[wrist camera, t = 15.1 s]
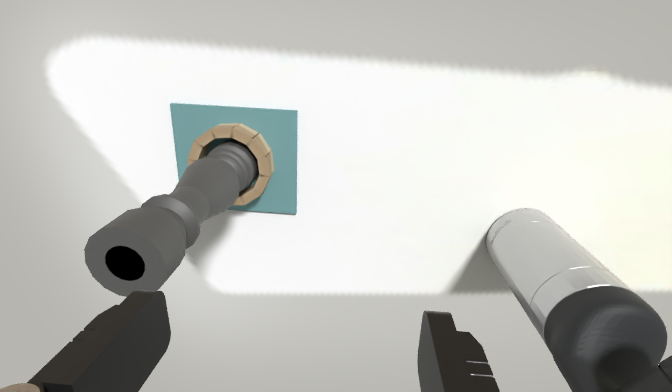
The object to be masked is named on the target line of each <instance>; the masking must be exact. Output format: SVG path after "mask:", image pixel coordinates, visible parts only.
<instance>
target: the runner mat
mask: <svg viewBox="0 0 672 392" xmlns="http://www.w3.org/2000/svg"><path fill="white" fill-rule="evenodd" d="M170 107H171V116H172V125H173V133H174V142H175V151H176V159H177V168H178V177H179V181H180V179H181V177H182V175H183V173H184V172H185V170H186V168H187V167H188V166H189V165H188V156H189V153H190V150H191V147H192V145H193V142H194V141H195V139H197V138H198V137H199V136H201V135H202V134H204V133H205V132H206V131H208V130H209V129H211V128H213V127H215V126H217V125H218V124H226V123H241V124H243V125H245V126H247V127H249V128H251V129H253V130H255V131H257V132H259V133H258V134H261V135H262V137H263V138H264V139H265V141H266V142H267V144H268V145H269V146H270V148H271V149H272V150H271V151H272V153H273V161H274V172H273V174H272V176H271V179H270V181H269V183H268V185H267V187H266V188H265V190H264V191H263V193H262V194H261V195H260V196H259V197H257V198H255V199H254V200H252V201H251V202H249V203H247V204H246V205H232V206H231V207H229V208H228V209H230V210H244V211H259V212H273V213H287V214H296V207H297V110H280V109H263V108H246V107H229V106H211V105H194V104H177V103H170ZM230 139H233V138H216V139H214V140H213V141H212V142H211V145H210V147H209V150H208V152H207V156H208V154H209V152H210V151H211V150H213V149H214V148H215V147H217V146H218V145H220V144H221V143H223V142H224V141H226V140H230ZM258 177H259V173H258V175H257V176H256V178H255V179H254V180H253V181H252V183H251V184H250V185H249V186H248V187H246V188H249V187H250V186H252V185H254V184H255V183H256V182H257V180H258Z"/></svg>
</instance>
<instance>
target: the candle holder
mask: <svg viewBox="0 0 672 392" xmlns="http://www.w3.org/2000/svg"><path fill="white" fill-rule="evenodd" d="M258 173H259V167H258V160H257V158H256V157H255V155H254V154H253V153H252V151H251V150H250V148H249V147H248V146H247V145H246V144H244V143H242V142H239V141H237V140H235V139H230V140H226V141H224V142H223V143H221V144H220V145H218V146H217V147H215V148H214V149H213V150H211V151H210V152H209V154H208V156H206V158H204V159H199V160H196V161H195V162H194V163H192V164H191V165H190V166H188V167H187V168H186V170H185V172H184V173H183V175H182V177H181V179H180V181H179V182H178V184H177V186H176V188H175V189H174V191H173V192H172V193H171V194H169V195H167V194H163V195H158V196H153V197H152V198H150V199H149V200H147V201H146V202H145V203H143V204H142V206H141V208H137V209H132V210H127V211H126V212H125V213H123V214H122V215H120V216H119V217H117V218H116V219H115V220H113V221H111V222H110V223H109V224H107V225H106V226H104V227H103V228H101V229H100V230H99V231H97V232H96V233H95V234H93V235H92V236H91V237H89V240H88V242H87V244H86V247H85V249H84V250H85V261H86V265H87V266H88V268H89V270H90V272H91V274H92V276H93V277H94V278H95V279H96V280H97V281H98V282H99V283H100V284H101V285H102V286H103V287H104V288H106V289H108V290H110V291H112V292H114V293H116V294H118V295H121V296H126V297H128V296H129V295H130V294H131V293H132V292H133V291H134V290H137V289H139V290H153V291H157V290H158V289H159V288H160V287H161V286H162V285H163V284H164V282H165V281H166V280H167V279H168V278H169V276H170V275H171V274H172V273H173V272H174V271H175V269H176V268H177V267H178V266H179V265H180V263H181V261H182V259H183V257H184V256H185V249H187V248H188V247H190V246H191V245H193V244H194V243H195V241H196V239H197V237H198V235H199V234H200V224H201V223H202V222H203V221H204V220H206V219H208V218H210V217H212V216H215V215H217V214H219V213H221V212H223V211H225V210H226V209H228V208H229V207H231V206H232V205H233V204H234V202H235V201H236V199H237V197H238V195H239V192H240V191H242V190H244V189H245V188H246V187H248V186H249V185H250V184H251V183H252V181H253V180H254V179H255V178H256V176H257V175H258Z"/></svg>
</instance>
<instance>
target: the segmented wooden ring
mask: <svg viewBox="0 0 672 392" xmlns="http://www.w3.org/2000/svg"><path fill="white" fill-rule="evenodd" d="M258 133H259V132H257V131H255V130H253V129H251V128H249V127H247V126H245V125H243V124H241V123H226V124H218V125H217V126H215V127H213V128H211V129H209V130H208V131H206V132H205V133H204V134H202V135H201V136H199V137H198V138H197V139H195V141H194V142H193V145H192V147H191V150H190V153H189V156H188V165H189V166H190V165H191V164H192V163H194V162H195V161H196V160H199V159H204V158H206V156H207V152H208V150H209V147H210V145H211V142H212V141H213V140H214V139H216V138H233V139H235V140H237V141H239V142H242V143H244V144H246V145H247V146H248V147H249V148H250V150H251V151H252V153H253V154H254V155H255V157H256V158H257V160H258V167H259V177H258V180H257V182H256V183H255V184H254V185H252V186H250V187H249V188H245V189H244V190H242V191H240V192H239V195H238V197H237V199H236V201H235V202H234V204H233V205H246V204H247V203H249V202H251V201H252V200H254V199H255V198H257V197H259V196H260V195H261V194H262V193H263V191H264V190H265V188H266V187H267V185H268V183H269V181H270V179H271V176H272V174H273V172H274V161H273V153H272V151H271V150H272V149H271V148H270V146H269V145H268V144H267V142H266V141H265V139H264V138H263V137H262V135H261V134H258Z"/></svg>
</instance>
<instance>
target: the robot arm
mask: <svg viewBox="0 0 672 392" xmlns="http://www.w3.org/2000/svg"><path fill="white" fill-rule="evenodd" d="M486 245H487V250H488V253H489V255H490V257H491V258H492V260H493V261H494V263H495V264H496V266H497V268H498V269H499V271H500V273H501V274H502V276H503V277H504V279H505V281H506V282H507V284H508V285H509V287H510V288H511V290H512V292H513V293H514V295H515V296H516V298H517V299H518V301H519V303H520V304H521V306H522V307H523V309H524V311H525V312H526V314H527V315H528V317H529V319H530V320H531V322H532V323H533V325H534V326H535V328H536V329H537V331H538V333H539V334H540V335H541V337H542V339H543V340H544V342H545V344H546V345H547V347H548V348H549V350H550V352H551V353H552V355H553V358H554V361H555V362H556V364H557V366H558V368H559V370H560V371H561V373H562V375H563V376H564V378H565V379H566V381H567V383H568V385H569V387H570V388H571V390H572V392H672V356H670V357H668V358H667V359H665V360H663V361H662V362H660V360H661V358H662V356H663V354H664V352H665V349H666V345H667V332H666V327H665V325H664V323H663V321H662V319H661V318H660V316H659V315H658V313H656V311H654V309H653V308H652V307H651V306H650V305H649V304H647V303H646V302H645V301H644V300H643V299H641V298H640V297H639V296H638V295H637V294H636V293H635V292H634V291H633V290H631V289H630V288H629V287H628V286H627V285H626V284H625V283H624V282H622V281H621V280H620V279H619V278H618V277H617V276H615V275H614V274H613V273H612V272H611V271H610V270H609V269H607V268H606V267H605V266H604V265H603V264H602V263H601V262H600V261H598V260H597V259H596V258H595V257H594V256H593V255H592V254H590V253H589V252H588V251H587V250H586V249H585V248H584V247H583V246H581V245H580V244H579V243H578V242H577V241H576V240H575V239H574V238H572V237H571V236H570V235H569V234H568V233H567V232H566V231H565V230H564V229H562V228H561V227H560V226H559V225H558V224H557V223H556V222H554V221H553V220H552V219H551V218H550V217H549V216H547V215H546V214H545V213H543V212H541V211H538V210H535V209H518V210H514V211H511V212H509V213H507V214H505V215H503V216H502V217H500V218H499V219H498V220H497V221H496V222H495V223H494V224H493V225H492V227H491V228H490V230H489V232H488V235H487V240H486ZM170 336H171V330H170V324H169V318H168V312H167V306H166V300H165V295H164V293H163V292H162V291H153V290H139V289H137V290H134V291H133V292H132V293H131V294H130V295H129V296H128V297H127V298H126V299H125V300H124V301H123V302H122V303H121V304H120V305H114V306H113V307H111V308H109V309H108V310H106V311H104V312H103V313H101V314H99V315H98V316H97V317H95V318H94V319H93V320H92V321H91V322H90V323H89V324H88V325H87V326H86V327H85V328H84V331H81V332H80V333H79V334H78V335H77V336H76V337H75V338H73V341H72V342H69V343H68V344H67V345H66V346H65V347H64V348H63V349H62V350H61V351H60V352H59V353H58V354H57V355H56V356H55V357H53V358H52V359H51V360H50V361H49V362H48V363H47V364H46V365H45V366H44V367H43V368H42V369H41V370H40V371H39V372H38V373H37V374H36V375H35V376H34V377H33V378H32V379H30V380H29V381H28V382H27V383H21V384H15V385H11V386H8V387H5V388H2V389H0V392H138V391H139V390H140V388H141V387H142V385H143V384H144V382H145V381H146V380H147V378H148V377H149V375H150V374H151V372H152V371H153V369H154V368H155V366H156V365H157V363H158V362H159V360H160V359H161V358H162V356H163V355H164V353H165V352H166V350H167V348H168V345H169V342H170ZM659 362H660V363H659ZM658 364H659V365H658ZM418 374H419V380H420V387H421V392H500V391H499V388H498V386H497V383H496V381H495V378H493V373H492V371H491V368H490V365H488V360H487V358H486V355H485V353H484V350H483V348H482V346H481V345H480V343H478V341H477V340H476V339H475V338H474V337H473V336H472V335H471V334H470V333H469V332H460V331H456V327H455V325H454V321H453V318H452V315H451V313H448V312H435V311H424V313H423V318H422V325H421V334H420V341H419V349H418Z"/></svg>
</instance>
